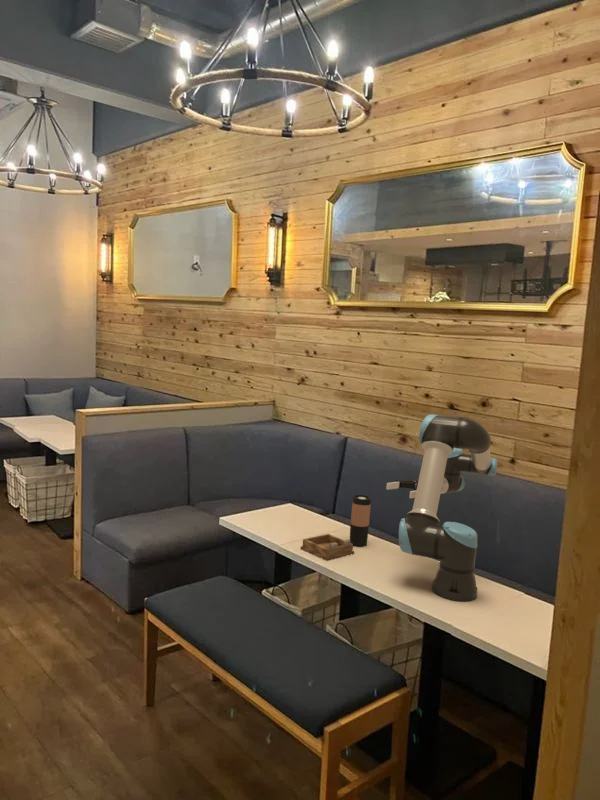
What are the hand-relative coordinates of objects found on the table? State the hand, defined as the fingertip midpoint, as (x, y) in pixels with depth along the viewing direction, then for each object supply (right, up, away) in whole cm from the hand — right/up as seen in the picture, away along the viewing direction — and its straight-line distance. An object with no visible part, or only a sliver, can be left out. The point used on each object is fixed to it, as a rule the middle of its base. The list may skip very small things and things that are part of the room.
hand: (398, 490), depth 255 cm
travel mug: (-16, -23, +4) cm, 28 cm away
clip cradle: (-29, -23, -7) cm, 38 cm away
